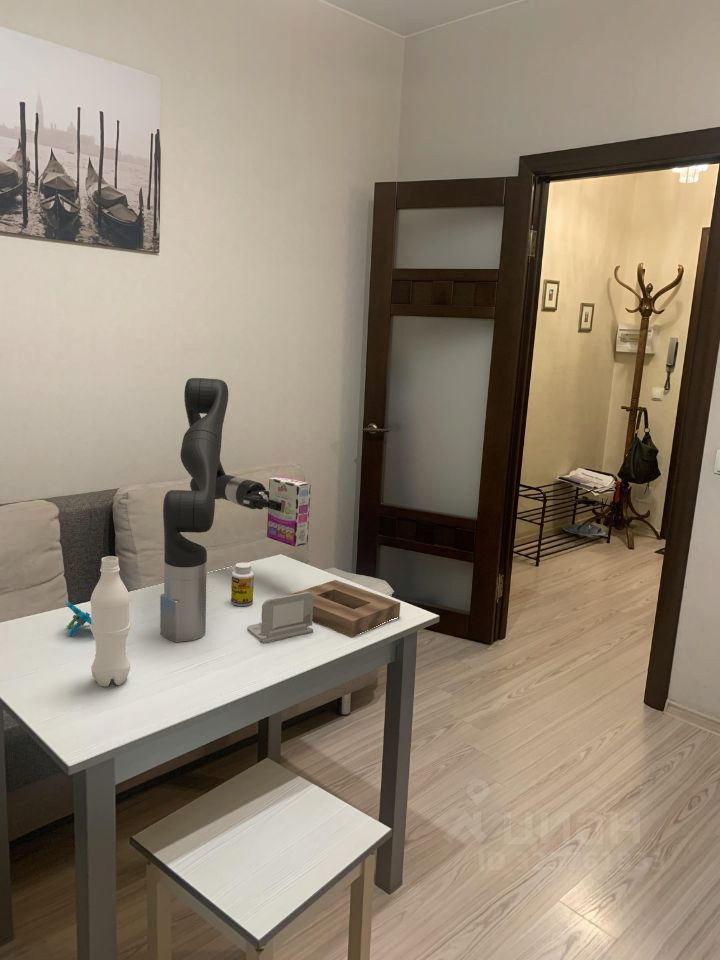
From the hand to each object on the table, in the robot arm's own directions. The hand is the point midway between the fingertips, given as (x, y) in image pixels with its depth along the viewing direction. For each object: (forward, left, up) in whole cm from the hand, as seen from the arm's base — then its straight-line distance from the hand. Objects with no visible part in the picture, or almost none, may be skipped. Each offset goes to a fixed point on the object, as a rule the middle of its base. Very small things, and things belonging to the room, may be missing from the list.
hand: (287, 505), depth 193 cm
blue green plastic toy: (-52, +10, -24) cm, 58 cm away
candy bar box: (0, 0, -10) cm, 10 cm away
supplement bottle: (-14, +1, -24) cm, 28 cm away
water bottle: (-60, -14, -24) cm, 66 cm away
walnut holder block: (0, -21, -24) cm, 32 cm away
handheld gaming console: (-19, -18, -24) cm, 36 cm away
